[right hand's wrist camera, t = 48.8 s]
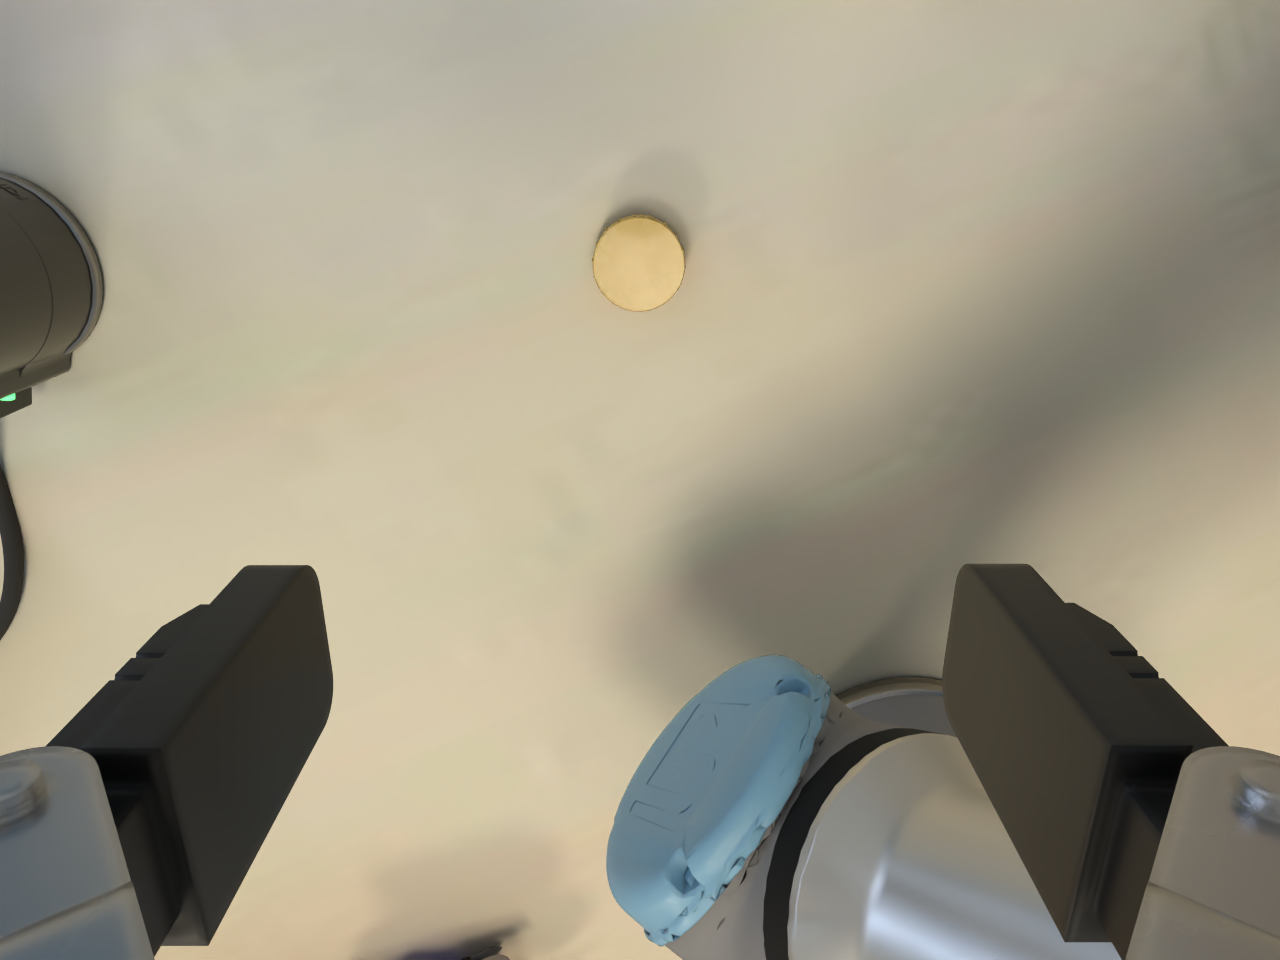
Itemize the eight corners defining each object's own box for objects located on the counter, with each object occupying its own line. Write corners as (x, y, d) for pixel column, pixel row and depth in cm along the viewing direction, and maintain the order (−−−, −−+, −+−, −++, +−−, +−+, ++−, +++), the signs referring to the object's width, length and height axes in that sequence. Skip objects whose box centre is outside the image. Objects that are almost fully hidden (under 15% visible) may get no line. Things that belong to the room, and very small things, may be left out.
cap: (679, 308, 45) (681, 315, 43) (590, 301, 44) (589, 308, 43) (688, 217, 43) (690, 221, 41) (596, 210, 43) (594, 213, 41)
